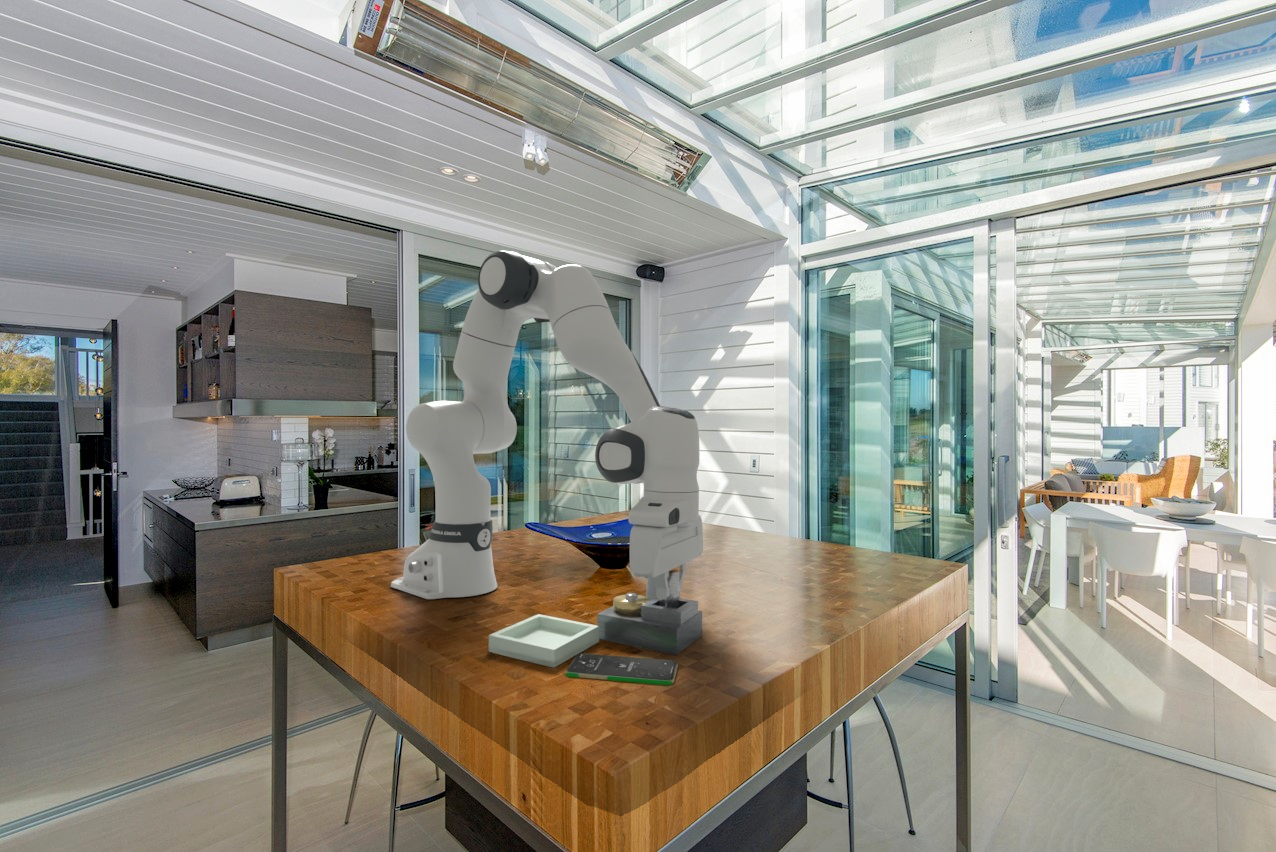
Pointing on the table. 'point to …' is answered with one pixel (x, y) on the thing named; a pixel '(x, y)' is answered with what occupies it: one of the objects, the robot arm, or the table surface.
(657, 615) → the grey stepped block
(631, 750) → the table surface
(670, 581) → the lock pin
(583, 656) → the smartphone
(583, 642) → the tray
